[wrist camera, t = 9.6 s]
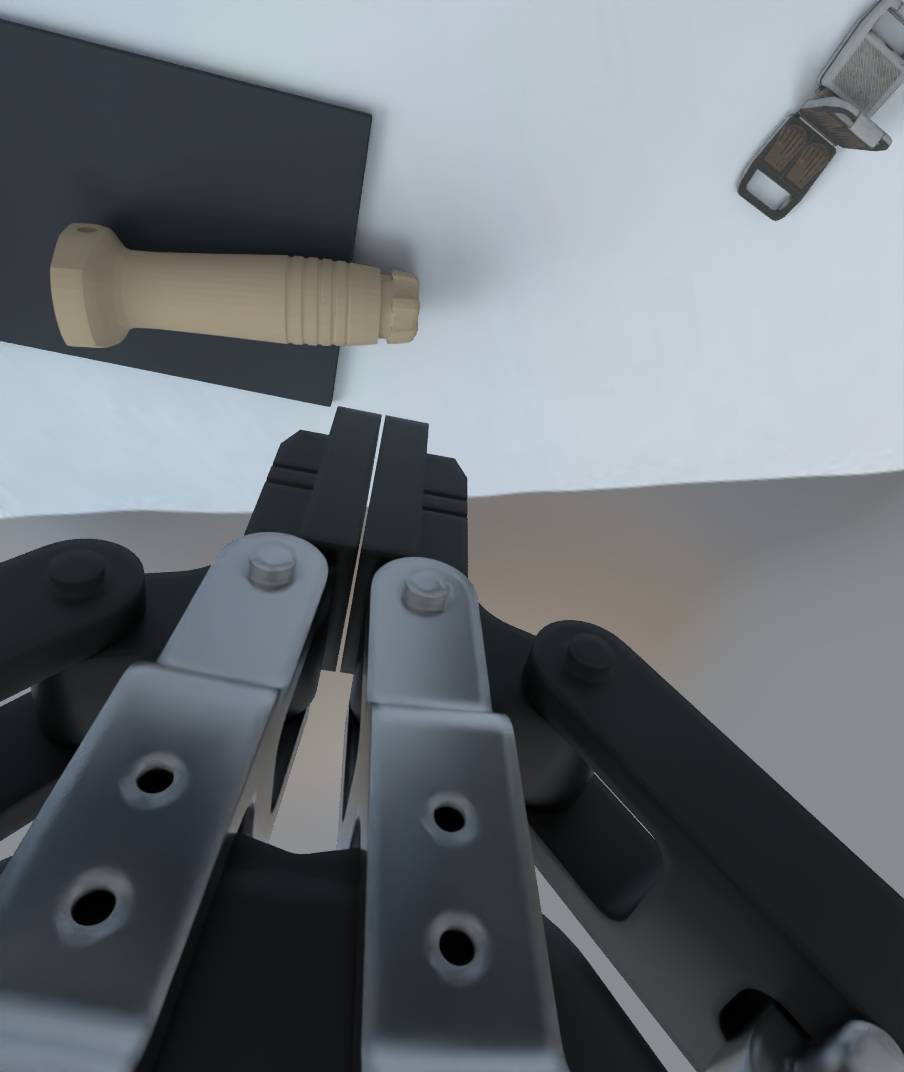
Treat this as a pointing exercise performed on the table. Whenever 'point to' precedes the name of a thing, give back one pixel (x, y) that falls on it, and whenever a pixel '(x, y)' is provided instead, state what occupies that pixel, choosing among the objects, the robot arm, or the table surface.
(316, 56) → the table surface
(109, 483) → the table surface
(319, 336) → the handle
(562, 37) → the table surface
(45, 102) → the mat
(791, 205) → the strap clip
